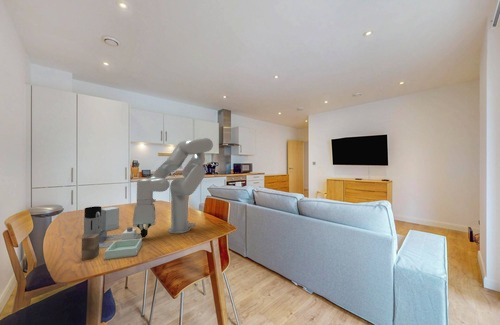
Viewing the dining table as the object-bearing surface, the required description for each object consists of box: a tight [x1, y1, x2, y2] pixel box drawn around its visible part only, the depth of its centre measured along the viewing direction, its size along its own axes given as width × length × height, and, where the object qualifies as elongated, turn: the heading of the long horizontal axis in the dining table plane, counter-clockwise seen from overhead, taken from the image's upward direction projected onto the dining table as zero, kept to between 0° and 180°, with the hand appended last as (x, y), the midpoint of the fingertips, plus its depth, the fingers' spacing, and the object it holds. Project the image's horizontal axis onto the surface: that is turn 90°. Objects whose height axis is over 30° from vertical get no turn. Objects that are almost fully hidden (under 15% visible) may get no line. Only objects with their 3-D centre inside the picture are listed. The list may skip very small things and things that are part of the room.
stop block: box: [80, 234, 100, 261], centre depth 84 cm, size 4×4×9 cm
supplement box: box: [101, 206, 120, 232], centre depth 120 cm, size 7×7×13 cm
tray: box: [104, 237, 143, 260], centre depth 89 cm, size 12×12×4 cm
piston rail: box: [99, 230, 142, 249], centre depth 100 cm, size 20×11×5 cm, turn 108°
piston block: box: [121, 226, 138, 240], centre depth 101 cm, size 5×6×7 cm
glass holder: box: [82, 205, 102, 238], centre depth 109 cm, size 9×14×15 cm, turn 55°
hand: (144, 236), depth 103 cm, fingers closed
